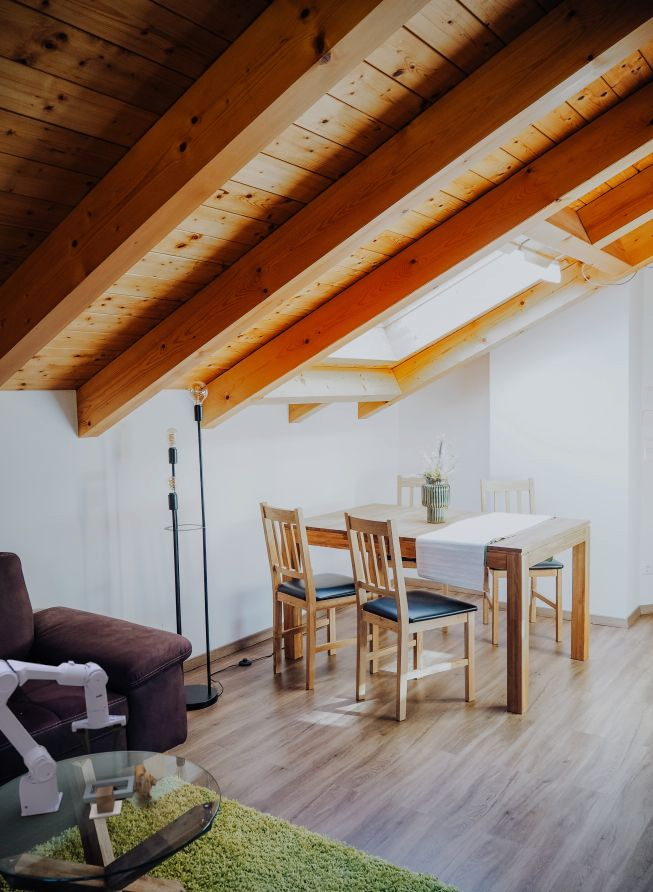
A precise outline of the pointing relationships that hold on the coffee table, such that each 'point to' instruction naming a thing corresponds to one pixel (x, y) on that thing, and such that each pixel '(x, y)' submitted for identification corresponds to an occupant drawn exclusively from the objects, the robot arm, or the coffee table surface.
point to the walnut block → (105, 799)
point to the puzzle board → (110, 782)
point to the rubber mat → (115, 812)
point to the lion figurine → (143, 782)
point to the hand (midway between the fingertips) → (102, 750)
